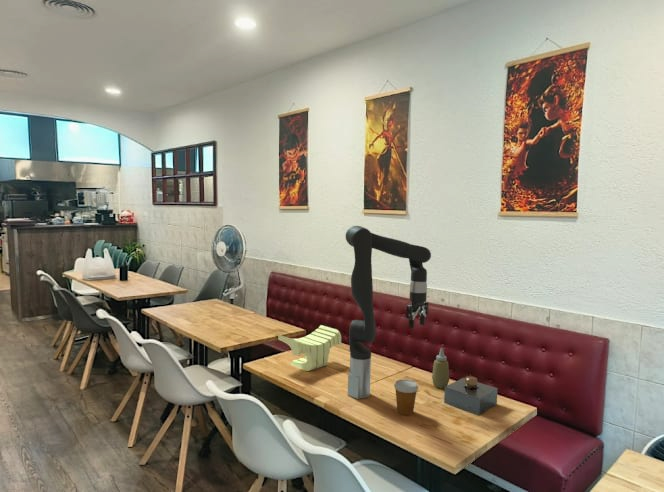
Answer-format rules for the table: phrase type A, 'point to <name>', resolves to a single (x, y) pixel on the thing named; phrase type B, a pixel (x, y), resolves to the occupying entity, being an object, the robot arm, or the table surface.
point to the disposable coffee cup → (405, 396)
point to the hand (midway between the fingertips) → (416, 326)
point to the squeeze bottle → (440, 371)
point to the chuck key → (471, 383)
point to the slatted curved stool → (313, 347)
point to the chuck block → (471, 397)
